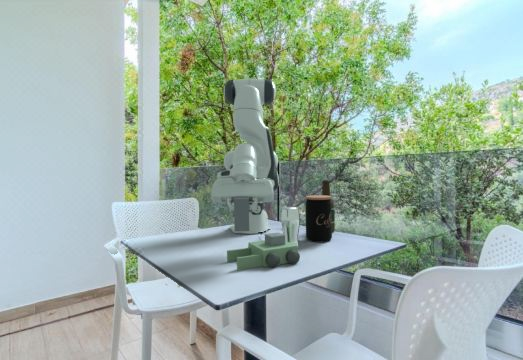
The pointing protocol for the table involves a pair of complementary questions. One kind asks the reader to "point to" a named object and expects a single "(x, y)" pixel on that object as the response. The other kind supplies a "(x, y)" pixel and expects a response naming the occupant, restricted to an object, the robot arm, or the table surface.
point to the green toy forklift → (265, 253)
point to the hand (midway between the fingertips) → (241, 211)
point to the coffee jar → (318, 218)
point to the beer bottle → (327, 192)
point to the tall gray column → (241, 214)
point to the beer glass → (290, 224)
